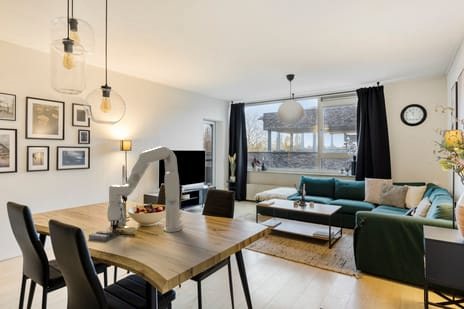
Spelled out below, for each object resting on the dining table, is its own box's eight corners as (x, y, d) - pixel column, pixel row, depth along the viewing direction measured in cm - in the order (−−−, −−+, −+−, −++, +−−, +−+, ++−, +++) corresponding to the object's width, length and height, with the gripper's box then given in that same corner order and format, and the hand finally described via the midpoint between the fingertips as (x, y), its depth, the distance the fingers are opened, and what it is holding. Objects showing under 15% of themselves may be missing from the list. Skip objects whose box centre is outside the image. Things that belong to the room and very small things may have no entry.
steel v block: (99, 235, 171) (99, 230, 171) (116, 236, 168) (116, 232, 168) (88, 239, 162) (88, 234, 162) (105, 241, 159) (105, 236, 159)
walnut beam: (121, 231, 180) (121, 226, 180) (127, 231, 178) (127, 226, 178) (111, 235, 171) (111, 230, 171) (118, 235, 170) (118, 230, 170)
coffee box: (126, 223, 198) (126, 202, 198) (120, 226, 192) (120, 204, 192) (116, 222, 201) (116, 202, 200) (110, 225, 194) (110, 203, 194)
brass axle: (120, 232, 177) (121, 225, 178) (135, 234, 174) (136, 226, 175) (115, 233, 172) (116, 226, 173) (130, 235, 169) (131, 227, 170)
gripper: (128, 202, 177) (128, 229, 177) (110, 201, 181) (110, 227, 181) (120, 205, 170) (120, 232, 170) (102, 203, 174) (102, 230, 174)
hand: (115, 229), depth 175 cm, fingers closed
